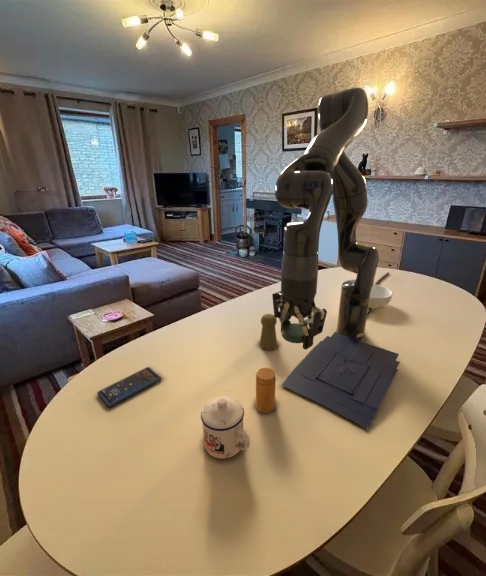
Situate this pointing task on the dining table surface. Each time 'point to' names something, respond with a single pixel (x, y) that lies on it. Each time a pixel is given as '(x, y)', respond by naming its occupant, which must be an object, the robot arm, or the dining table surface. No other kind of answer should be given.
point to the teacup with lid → (224, 427)
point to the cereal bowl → (379, 296)
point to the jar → (265, 389)
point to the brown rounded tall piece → (268, 332)
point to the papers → (345, 376)
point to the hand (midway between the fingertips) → (296, 341)
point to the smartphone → (128, 386)
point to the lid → (293, 333)
